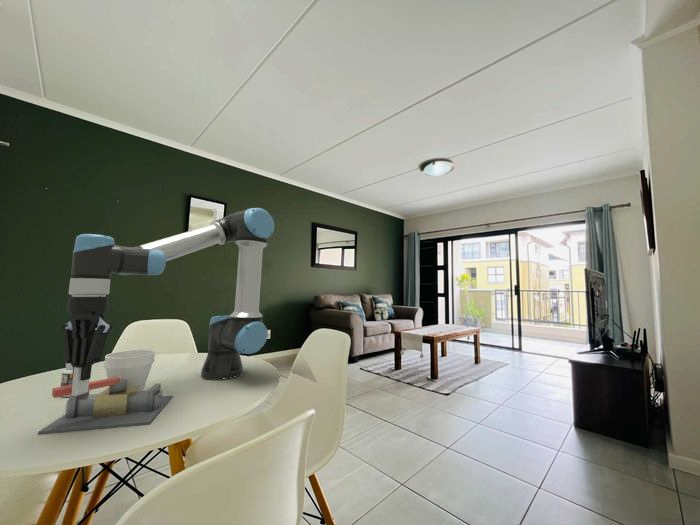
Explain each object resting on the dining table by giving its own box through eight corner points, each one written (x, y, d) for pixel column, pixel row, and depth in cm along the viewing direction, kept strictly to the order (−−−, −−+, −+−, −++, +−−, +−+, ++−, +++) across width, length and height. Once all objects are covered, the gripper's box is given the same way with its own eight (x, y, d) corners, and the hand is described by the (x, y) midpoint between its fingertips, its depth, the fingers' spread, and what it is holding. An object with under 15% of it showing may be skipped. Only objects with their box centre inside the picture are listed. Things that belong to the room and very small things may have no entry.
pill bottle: (68, 398, 84) (73, 364, 85) (54, 396, 85) (58, 362, 86) (89, 391, 89) (93, 359, 90) (75, 390, 90) (79, 358, 91)
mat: (173, 397, 87) (173, 395, 87) (149, 424, 70) (150, 421, 70) (86, 403, 81) (86, 400, 81) (37, 434, 64) (38, 431, 64)
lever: (124, 386, 79) (125, 374, 79) (128, 389, 76) (129, 376, 77) (50, 402, 67) (52, 387, 67) (53, 406, 65) (55, 391, 65)
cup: (140, 406, 80) (144, 357, 82) (89, 409, 78) (94, 358, 79) (158, 391, 92) (162, 348, 94) (114, 393, 89) (119, 349, 91)
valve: (163, 402, 82) (165, 382, 82) (153, 412, 75) (155, 390, 76) (78, 408, 76) (81, 387, 77) (60, 420, 69) (63, 396, 70)
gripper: (125, 295, 73) (117, 390, 71) (85, 295, 76) (75, 386, 73) (94, 296, 66) (84, 401, 63) (51, 295, 68) (39, 397, 66)
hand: (79, 393), depth 68 cm, fingers closed
